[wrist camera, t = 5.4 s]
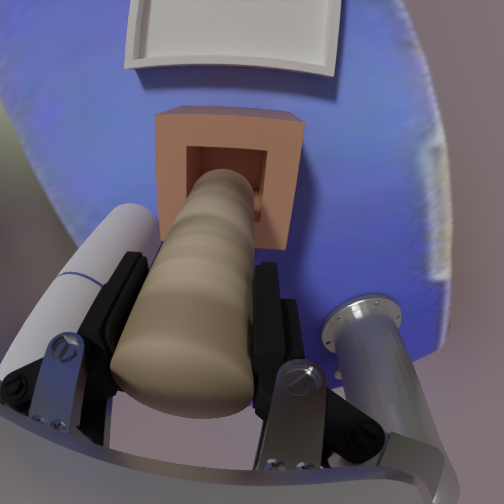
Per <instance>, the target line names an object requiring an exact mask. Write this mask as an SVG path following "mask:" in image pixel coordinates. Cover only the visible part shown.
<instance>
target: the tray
mask: <svg viewBox="0 0 504 504" xmlns="http://www.w3.org/2000/svg"><path fill="white" fill-rule="evenodd" d="M340 10H341V0H131V3H130V10H129V18H128V27H127V37H126V49H125V64H124V69H134V70H135V69H145V68H156V67H172V66H238V67H253V68H265V69H275V70H283V71H291V72H298V73H304V74H311V75H316V76H322V77H334V71H335V63H336V54H337V44H338V34H339V23H340Z"/></svg>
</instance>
